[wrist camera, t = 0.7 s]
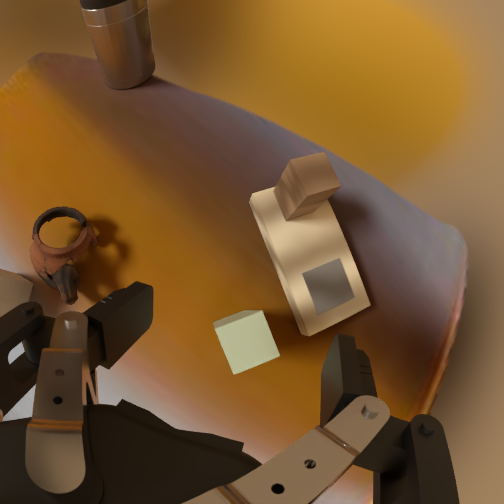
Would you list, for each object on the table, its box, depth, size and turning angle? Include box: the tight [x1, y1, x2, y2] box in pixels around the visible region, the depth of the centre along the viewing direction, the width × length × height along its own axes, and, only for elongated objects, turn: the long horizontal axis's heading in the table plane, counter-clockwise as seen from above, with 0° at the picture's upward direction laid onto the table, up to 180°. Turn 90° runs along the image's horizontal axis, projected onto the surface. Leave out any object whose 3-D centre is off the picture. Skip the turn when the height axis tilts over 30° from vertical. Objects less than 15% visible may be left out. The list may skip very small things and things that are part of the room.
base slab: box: [249, 152, 370, 336], centre depth 31 cm, size 18×9×11 cm, turn 21°
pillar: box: [213, 310, 280, 374], centre depth 28 cm, size 4×4×12 cm
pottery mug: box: [30, 206, 98, 305], centre depth 30 cm, size 12×9×8 cm
